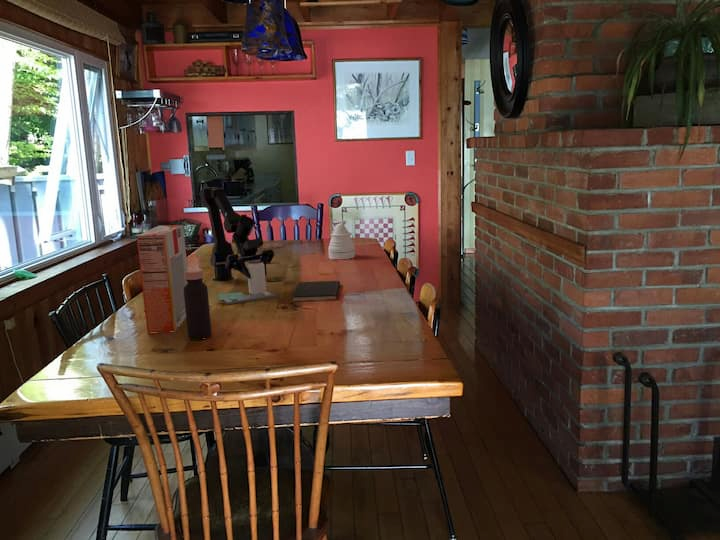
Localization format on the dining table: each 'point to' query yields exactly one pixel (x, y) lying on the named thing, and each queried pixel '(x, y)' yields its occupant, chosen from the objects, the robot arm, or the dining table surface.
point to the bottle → (197, 305)
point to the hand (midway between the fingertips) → (258, 276)
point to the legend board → (249, 297)
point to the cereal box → (163, 276)
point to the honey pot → (341, 243)
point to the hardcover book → (316, 290)
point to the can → (256, 277)
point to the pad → (229, 295)
